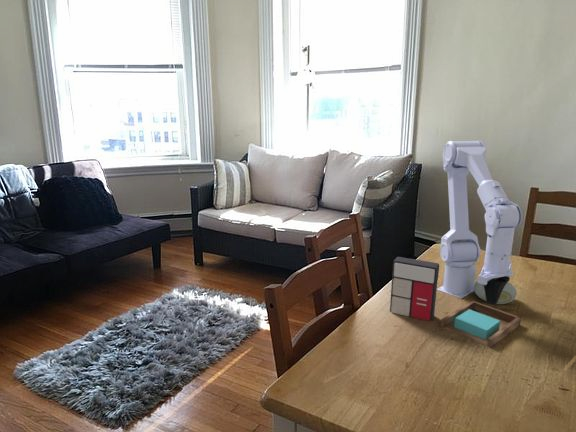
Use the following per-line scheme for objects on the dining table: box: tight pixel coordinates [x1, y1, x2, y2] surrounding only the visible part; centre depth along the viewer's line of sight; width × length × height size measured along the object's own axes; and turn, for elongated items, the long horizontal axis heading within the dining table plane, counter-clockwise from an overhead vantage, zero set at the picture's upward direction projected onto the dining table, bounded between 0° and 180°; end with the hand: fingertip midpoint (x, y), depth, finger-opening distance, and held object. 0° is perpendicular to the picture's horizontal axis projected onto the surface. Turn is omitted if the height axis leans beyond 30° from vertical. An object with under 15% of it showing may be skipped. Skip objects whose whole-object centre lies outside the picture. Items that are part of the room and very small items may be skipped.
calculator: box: [389, 256, 440, 322], centre depth 116 cm, size 11×4×15 cm, turn 62°
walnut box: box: [440, 300, 522, 348], centre depth 111 cm, size 16×13×2 cm
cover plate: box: [454, 309, 500, 340], centre depth 110 cm, size 7×8×2 cm
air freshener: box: [474, 281, 518, 305], centre depth 125 cm, size 11×8×10 cm
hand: (491, 302), depth 113 cm, fingers closed
